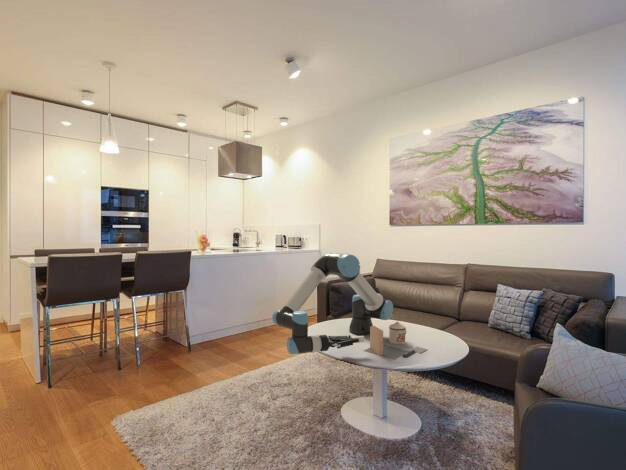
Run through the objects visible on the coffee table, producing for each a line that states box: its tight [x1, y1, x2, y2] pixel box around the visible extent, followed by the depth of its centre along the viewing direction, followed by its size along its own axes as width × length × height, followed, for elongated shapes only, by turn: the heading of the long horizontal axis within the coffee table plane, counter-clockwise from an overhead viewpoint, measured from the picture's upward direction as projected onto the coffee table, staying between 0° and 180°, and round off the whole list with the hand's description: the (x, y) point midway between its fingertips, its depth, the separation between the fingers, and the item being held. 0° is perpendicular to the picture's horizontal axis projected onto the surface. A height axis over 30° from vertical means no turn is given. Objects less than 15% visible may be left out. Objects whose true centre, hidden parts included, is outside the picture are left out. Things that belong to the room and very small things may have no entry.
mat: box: [363, 343, 410, 360], centre depth 179 cm, size 18×16×1 cm
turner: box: [402, 346, 428, 359], centre depth 177 cm, size 20×6×2 cm, turn 138°
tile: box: [369, 325, 384, 356], centre depth 177 cm, size 3×9×12 cm, turn 18°
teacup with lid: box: [388, 321, 407, 345], centre depth 195 cm, size 12×9×12 cm
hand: (363, 338), depth 174 cm, fingers closed
